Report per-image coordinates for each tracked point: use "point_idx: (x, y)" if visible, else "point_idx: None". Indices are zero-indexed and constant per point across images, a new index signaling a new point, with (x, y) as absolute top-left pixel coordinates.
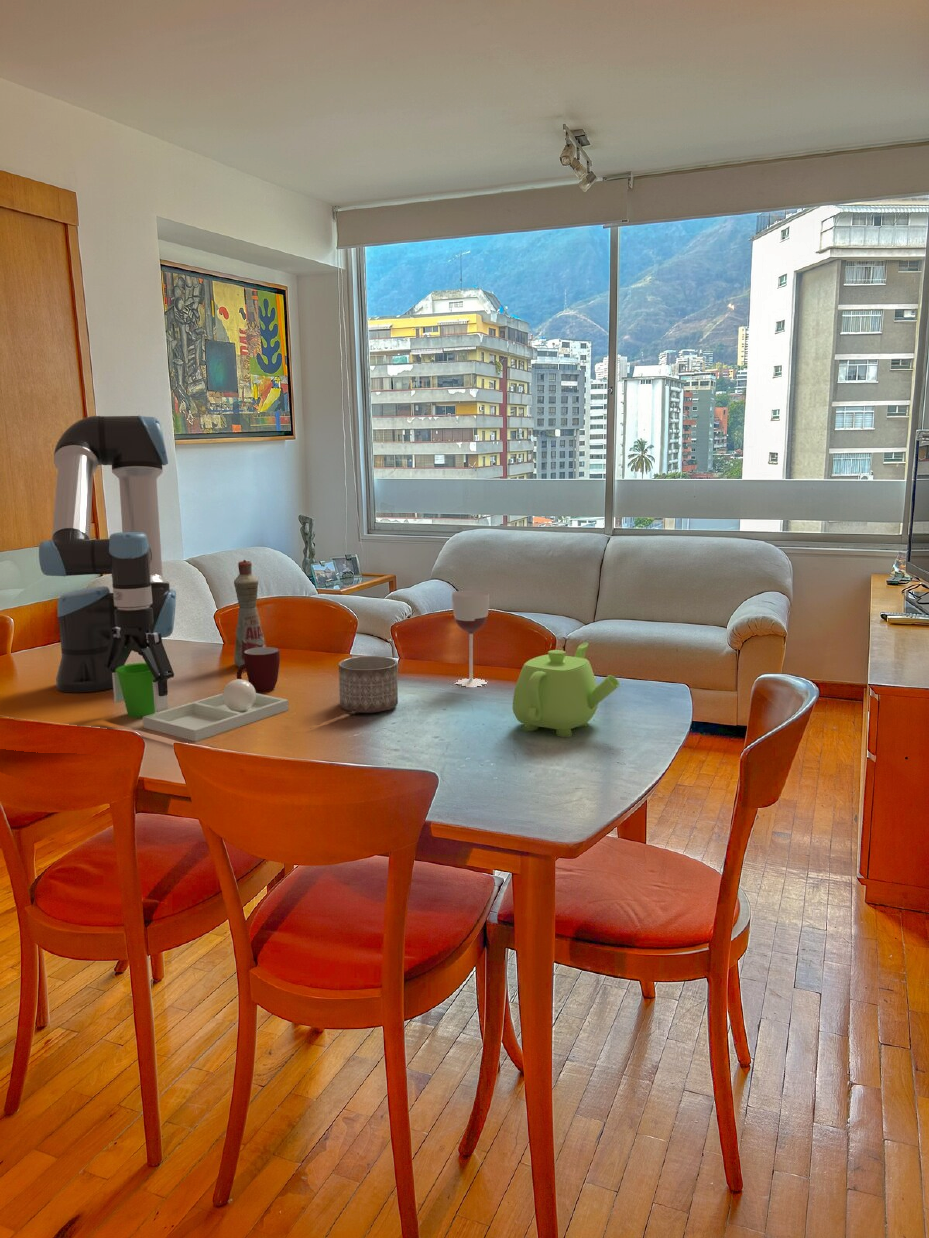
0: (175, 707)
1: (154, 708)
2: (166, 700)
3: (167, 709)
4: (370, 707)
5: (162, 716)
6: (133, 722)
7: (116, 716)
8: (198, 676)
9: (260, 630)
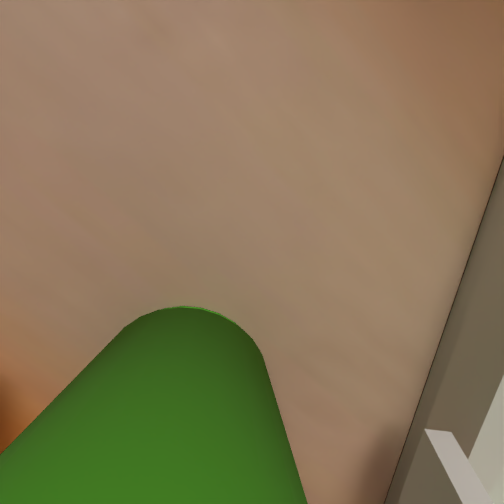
0: (502, 403)
1: (268, 380)
2: (485, 502)
3: (468, 454)
4: None
5: None
6: None
7: (29, 408)
8: None
9: None
